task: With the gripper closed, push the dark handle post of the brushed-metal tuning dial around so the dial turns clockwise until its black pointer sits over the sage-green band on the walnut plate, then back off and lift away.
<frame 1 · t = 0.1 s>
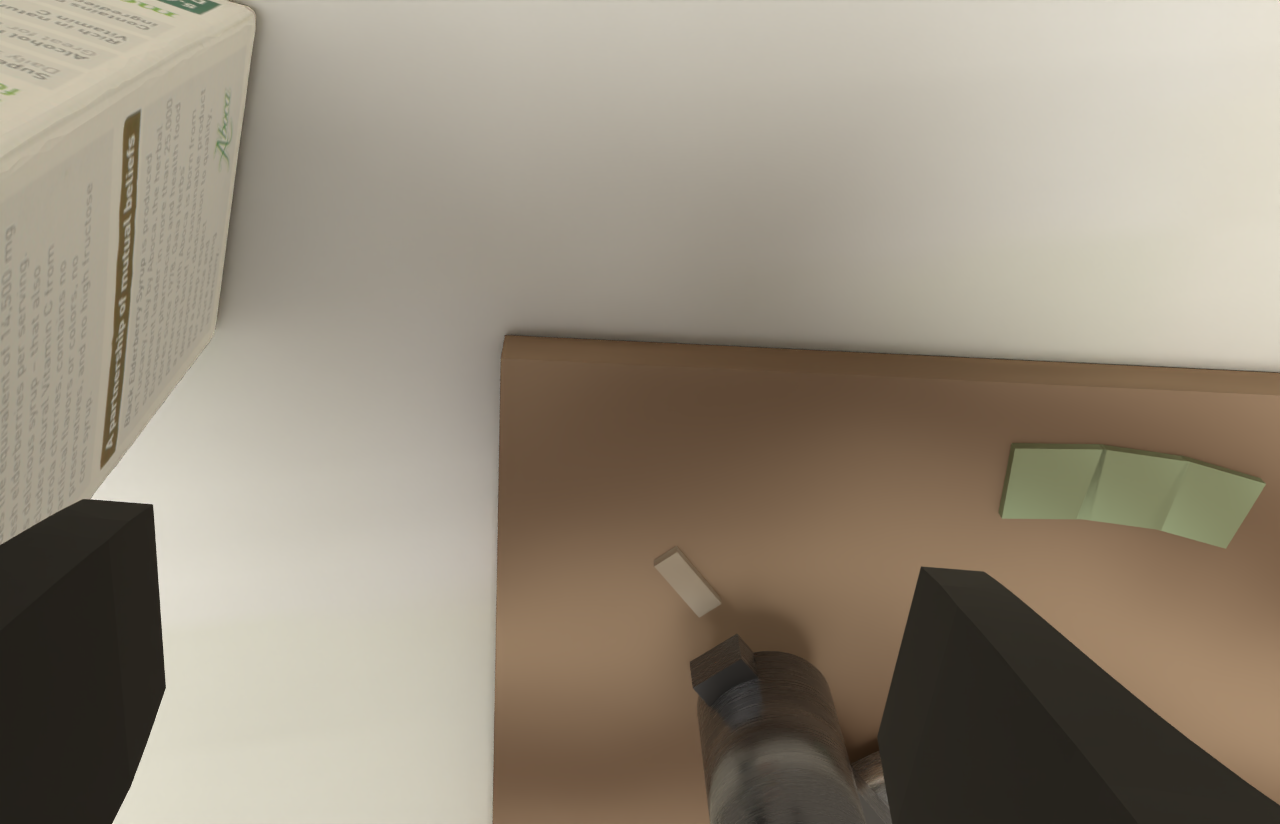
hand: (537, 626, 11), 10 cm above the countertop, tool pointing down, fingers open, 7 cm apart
syrup box: (66, 135, 19), on the countertop, touching gripper
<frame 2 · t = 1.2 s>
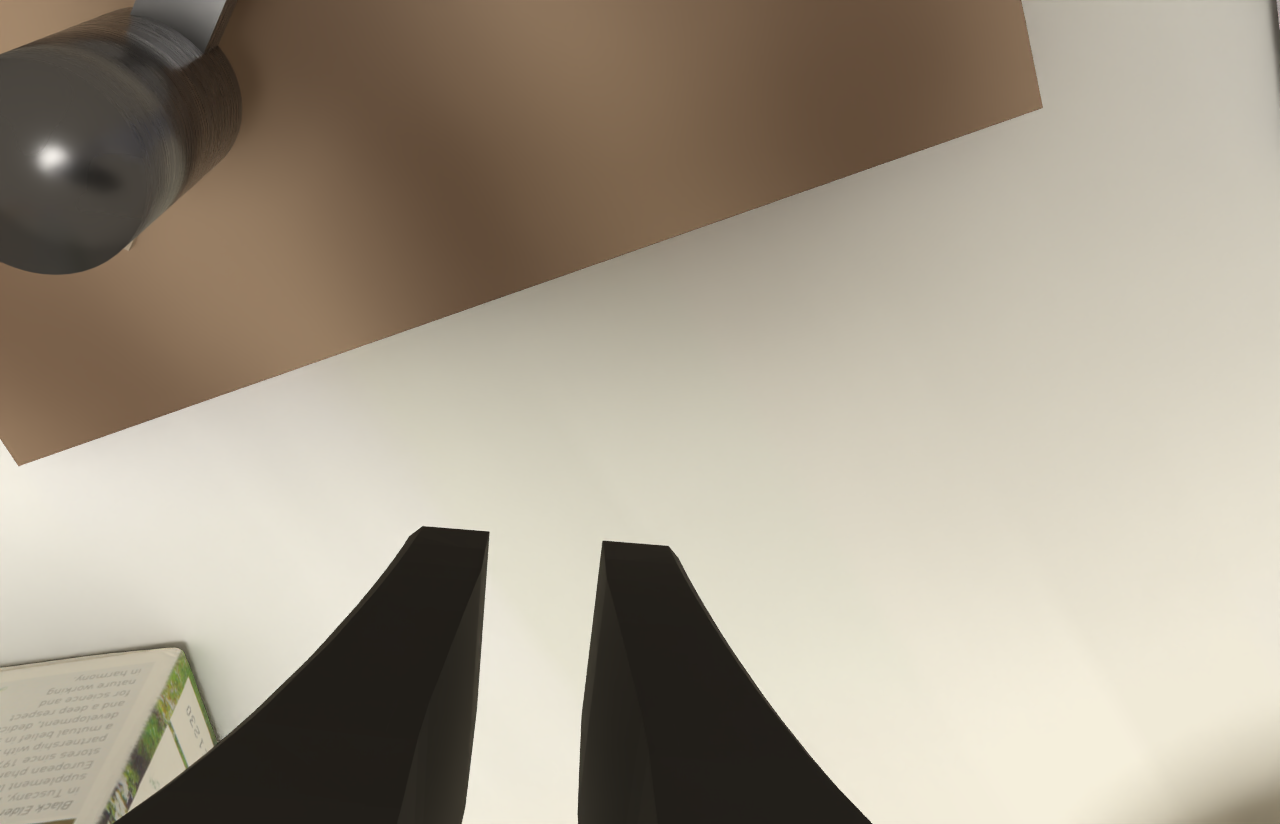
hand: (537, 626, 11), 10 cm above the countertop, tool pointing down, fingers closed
syrup box: (101, 757, 25), on the countertop
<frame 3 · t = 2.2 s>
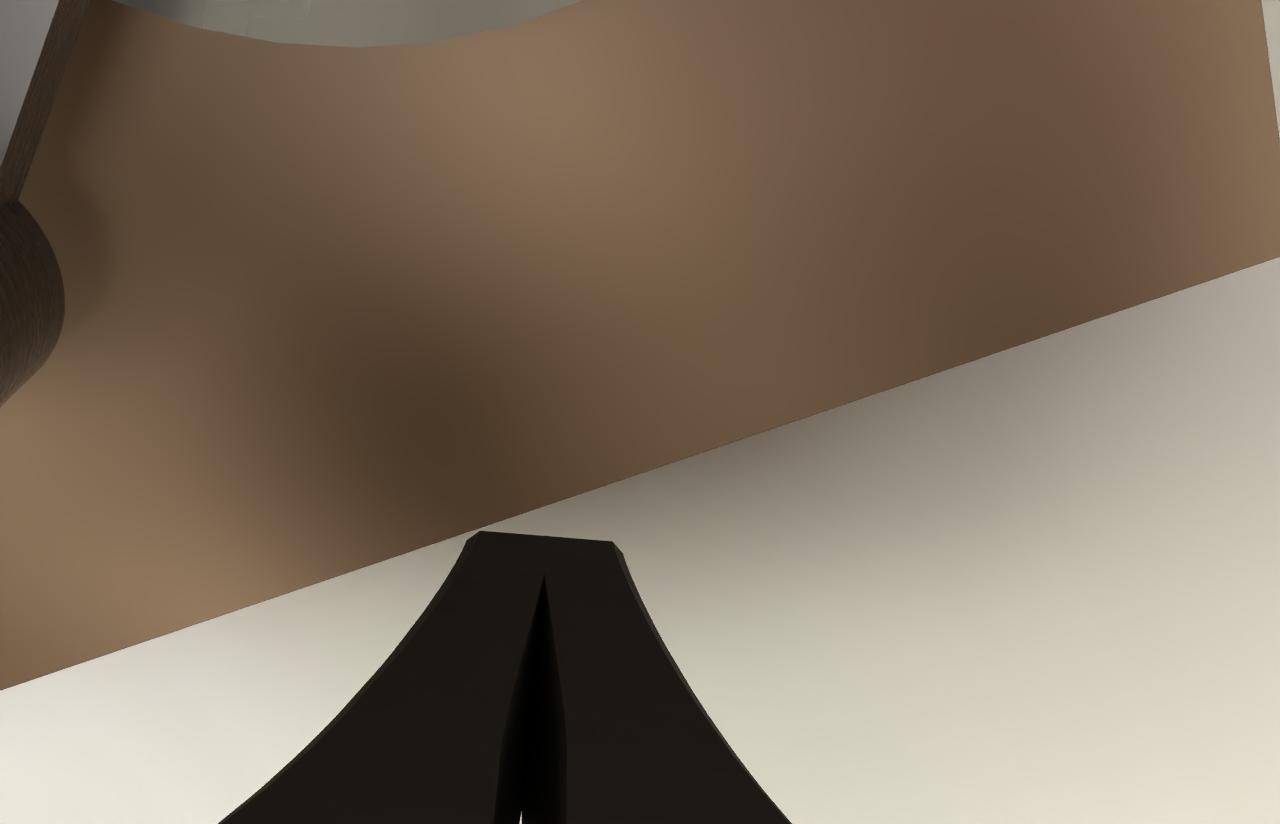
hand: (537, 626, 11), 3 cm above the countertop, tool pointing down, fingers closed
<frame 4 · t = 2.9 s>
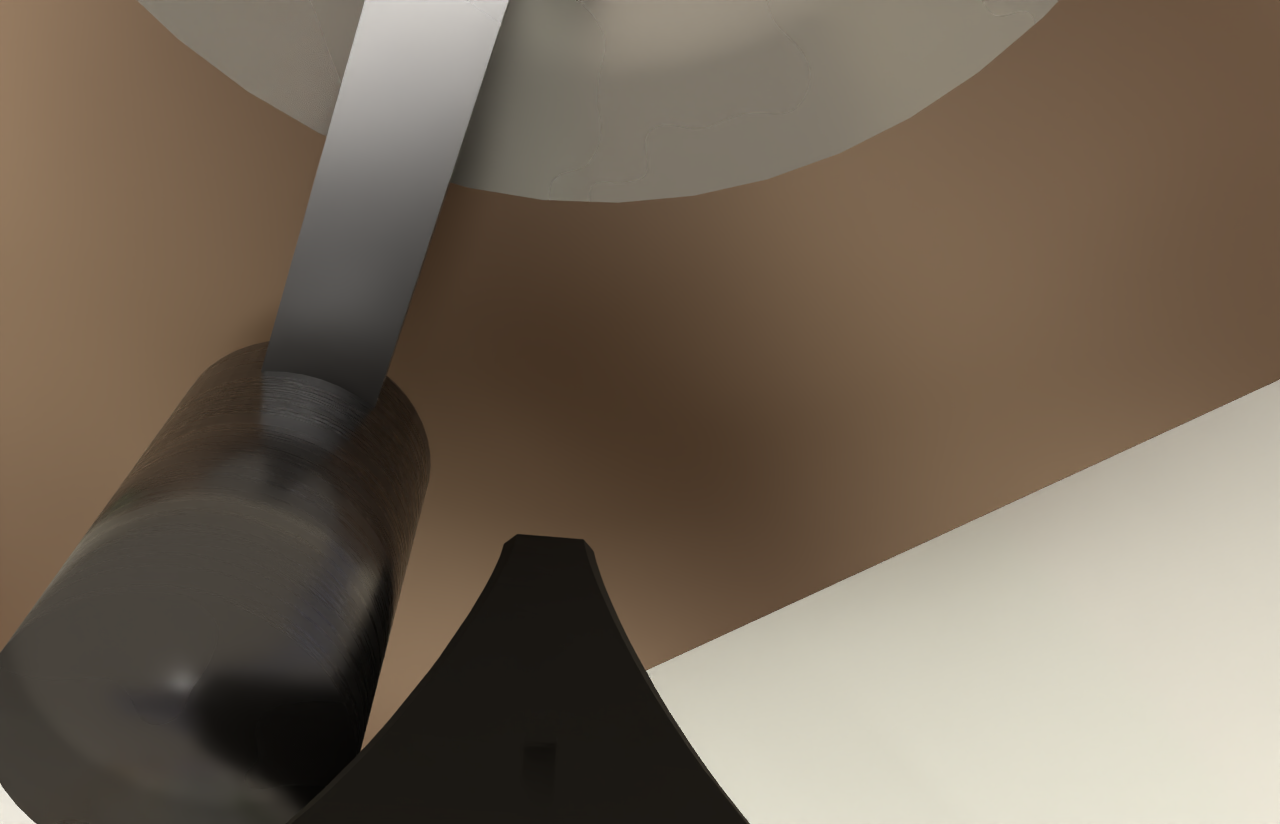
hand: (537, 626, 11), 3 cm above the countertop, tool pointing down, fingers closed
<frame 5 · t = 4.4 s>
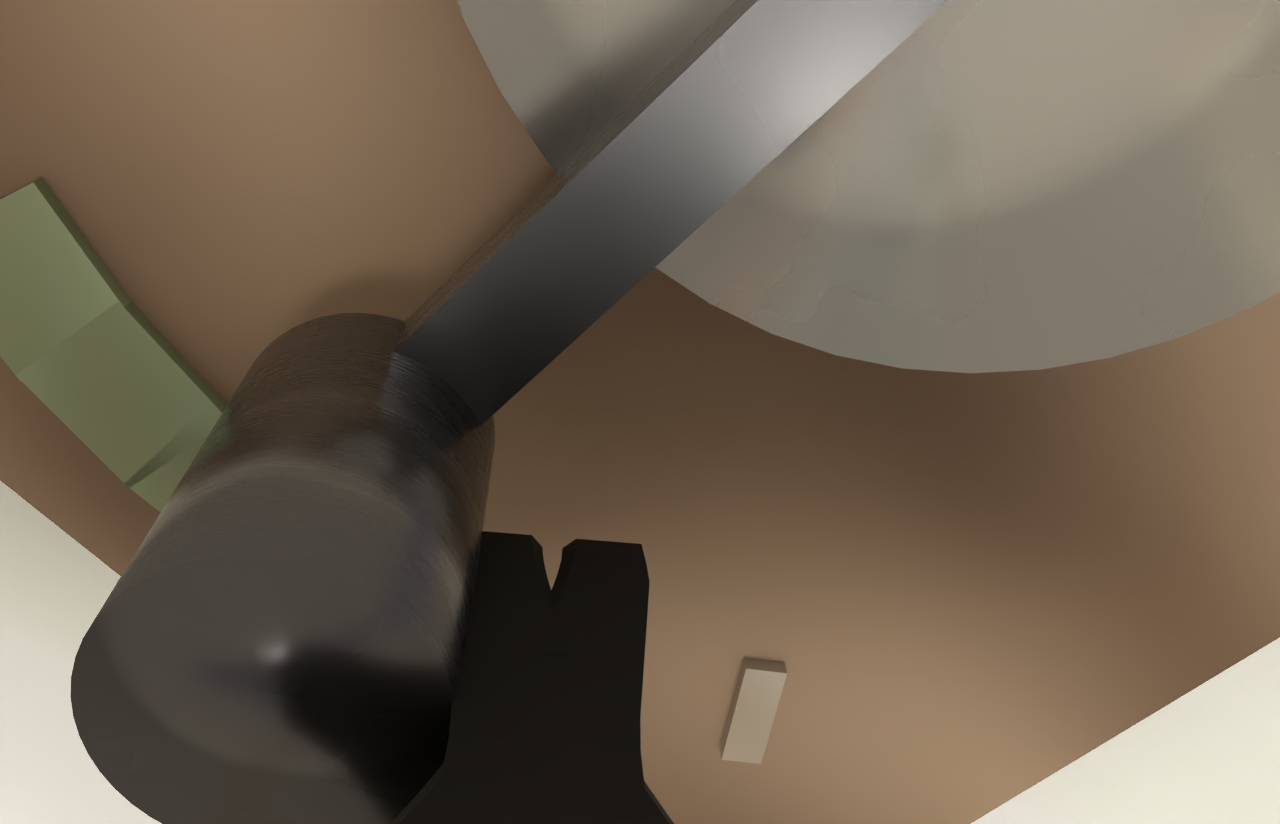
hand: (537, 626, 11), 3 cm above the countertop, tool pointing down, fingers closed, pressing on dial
dial: (875, 16, 8), point 4 cm above the countertop, hinge at -36.3°, touching gripper
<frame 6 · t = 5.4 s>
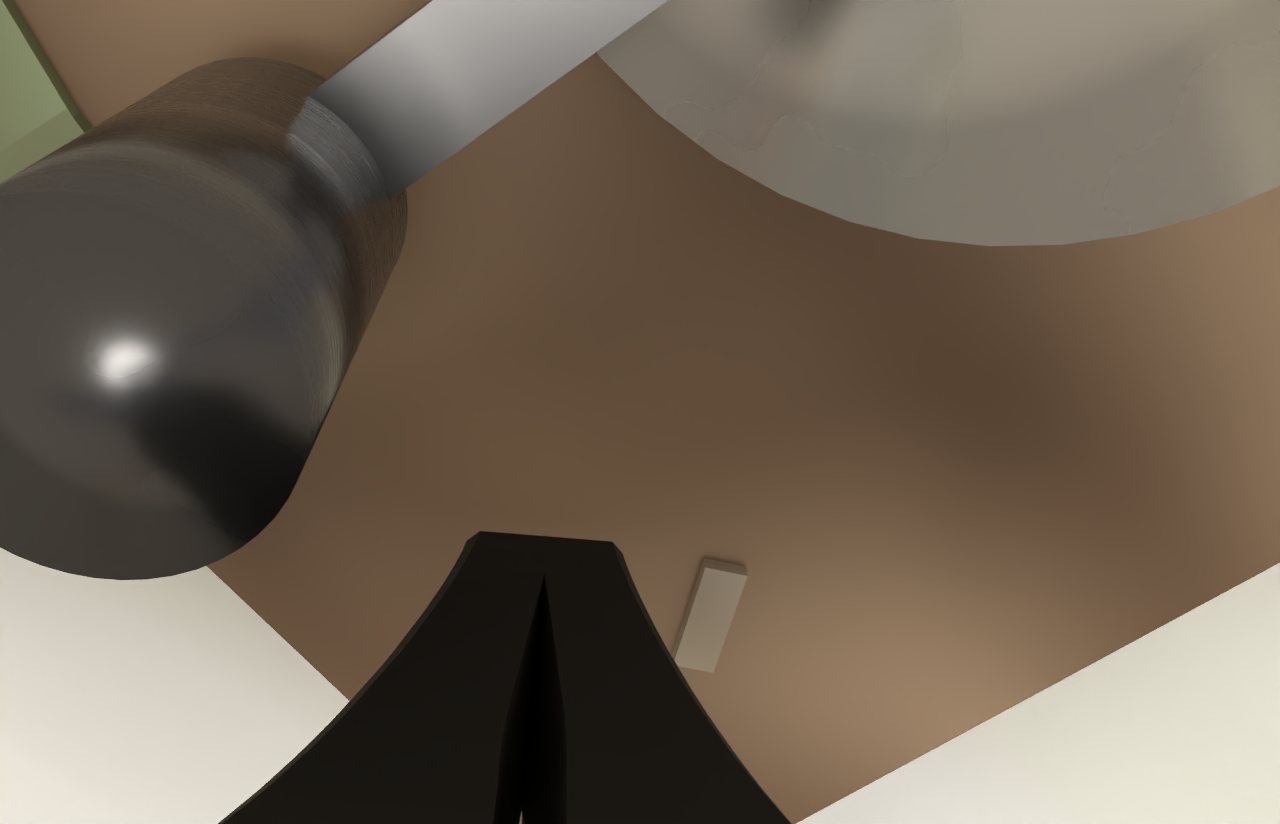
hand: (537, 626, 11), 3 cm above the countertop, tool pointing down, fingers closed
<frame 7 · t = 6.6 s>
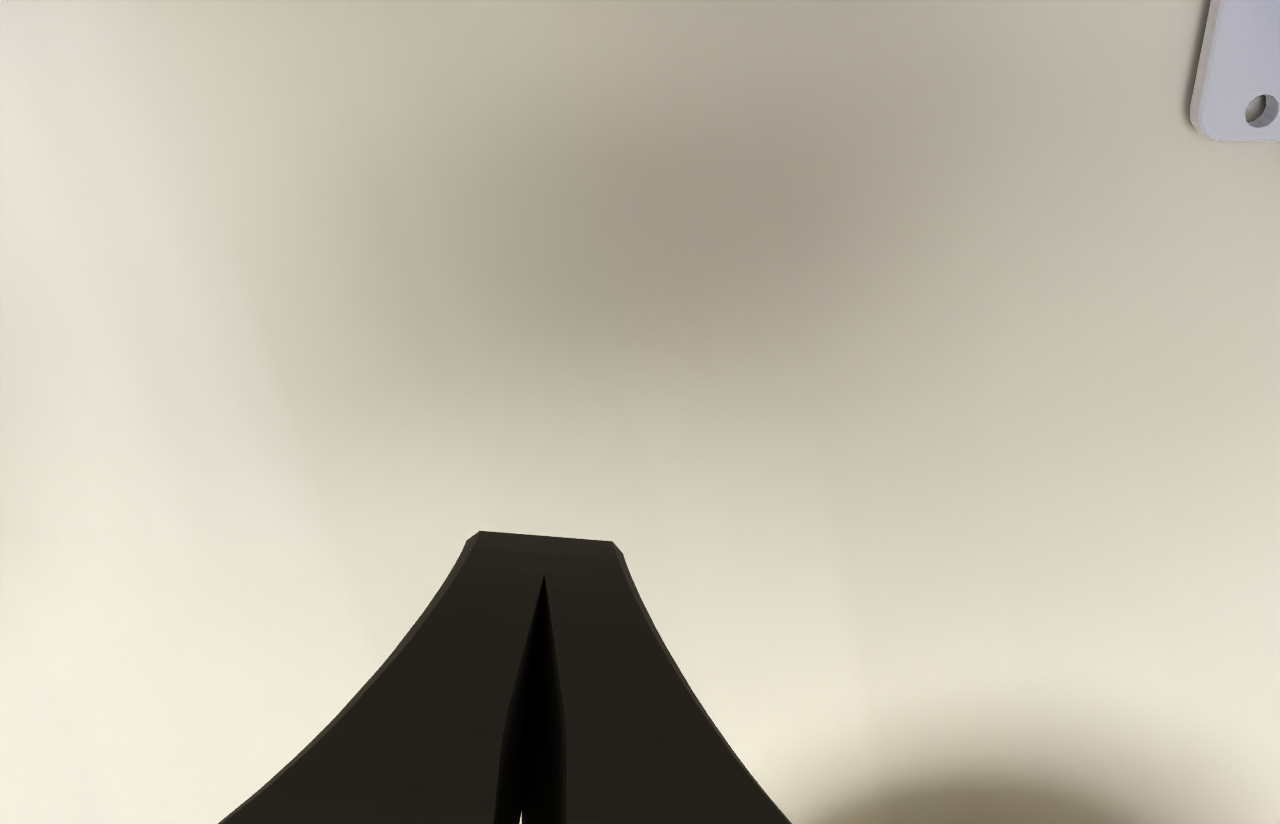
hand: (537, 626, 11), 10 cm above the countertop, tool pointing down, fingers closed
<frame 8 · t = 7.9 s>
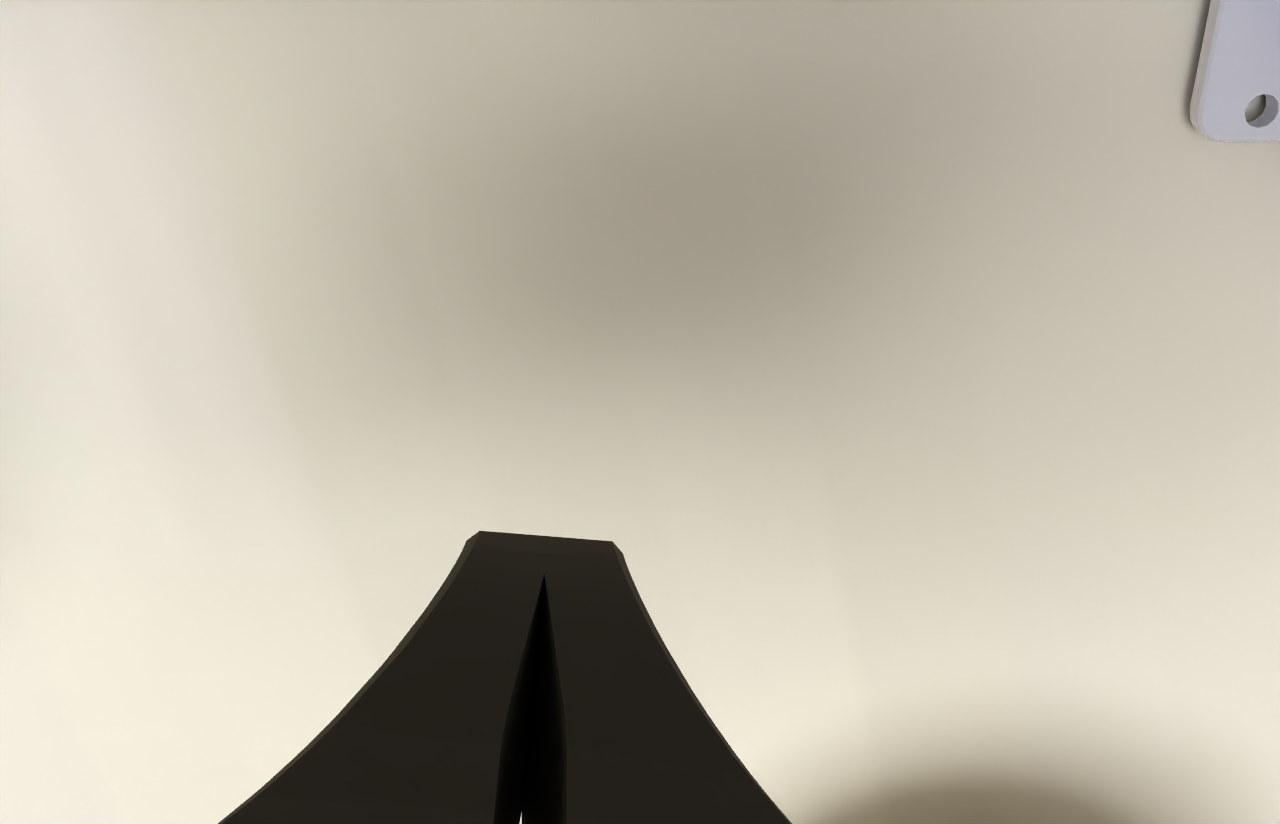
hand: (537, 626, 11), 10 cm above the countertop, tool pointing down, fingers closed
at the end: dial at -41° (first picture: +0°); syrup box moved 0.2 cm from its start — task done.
